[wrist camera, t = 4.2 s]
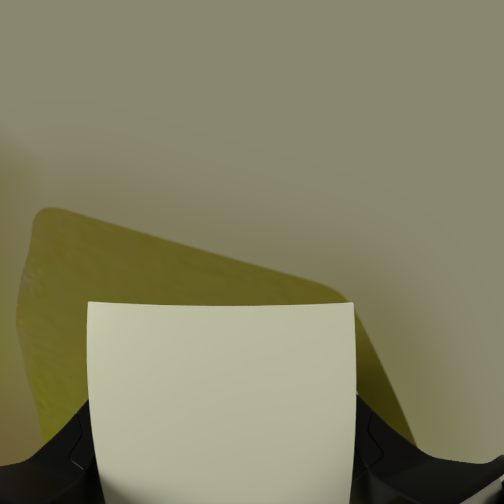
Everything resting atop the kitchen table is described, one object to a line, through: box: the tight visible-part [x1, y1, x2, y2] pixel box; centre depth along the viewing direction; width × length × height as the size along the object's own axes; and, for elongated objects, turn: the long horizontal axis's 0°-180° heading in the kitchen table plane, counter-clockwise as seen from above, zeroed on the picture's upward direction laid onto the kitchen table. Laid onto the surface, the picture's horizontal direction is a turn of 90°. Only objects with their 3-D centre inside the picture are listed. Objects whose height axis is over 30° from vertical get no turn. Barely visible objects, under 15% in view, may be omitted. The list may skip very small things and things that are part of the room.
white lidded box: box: [87, 302, 356, 504], centre depth 11 cm, size 6×6×13 cm
